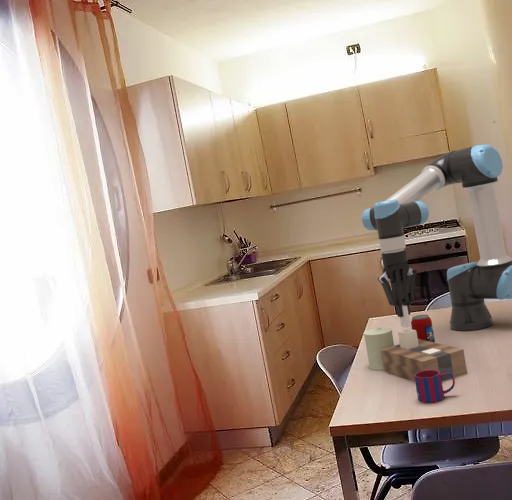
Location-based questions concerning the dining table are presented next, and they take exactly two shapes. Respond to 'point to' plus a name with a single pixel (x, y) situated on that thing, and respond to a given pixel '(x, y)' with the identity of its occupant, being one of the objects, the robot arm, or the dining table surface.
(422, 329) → the beverage can
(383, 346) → the can
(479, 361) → the dining table surface
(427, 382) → the mug
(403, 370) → the socket block
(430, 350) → the peg
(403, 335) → the peg
